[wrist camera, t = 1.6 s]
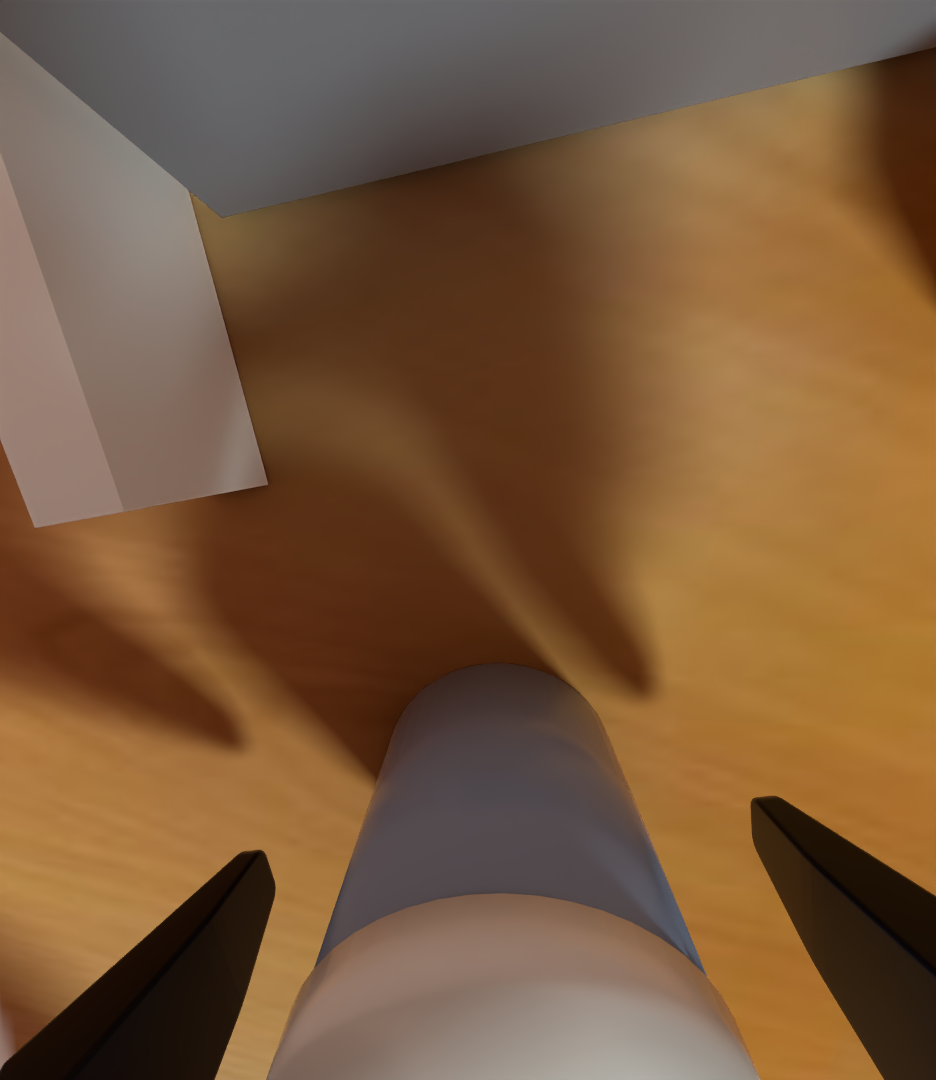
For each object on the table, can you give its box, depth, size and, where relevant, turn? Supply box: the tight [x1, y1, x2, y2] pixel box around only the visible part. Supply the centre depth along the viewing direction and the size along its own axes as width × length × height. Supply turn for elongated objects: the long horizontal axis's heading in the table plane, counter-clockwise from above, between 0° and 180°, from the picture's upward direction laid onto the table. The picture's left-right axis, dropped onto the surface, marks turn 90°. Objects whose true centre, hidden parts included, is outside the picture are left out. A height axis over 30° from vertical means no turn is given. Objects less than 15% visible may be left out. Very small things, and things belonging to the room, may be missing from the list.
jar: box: [266, 663, 761, 1080], centre depth 7 cm, size 5×5×6 cm
